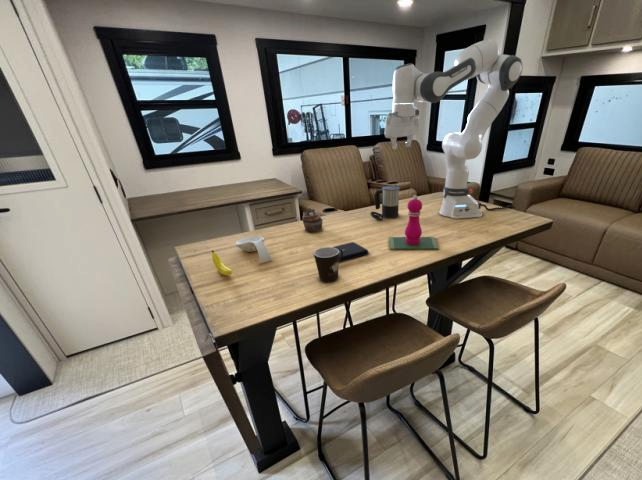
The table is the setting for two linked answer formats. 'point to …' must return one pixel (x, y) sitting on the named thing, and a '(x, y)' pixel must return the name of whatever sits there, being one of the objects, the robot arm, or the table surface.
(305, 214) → the cupcake
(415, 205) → the pepper mill
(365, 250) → the laptop
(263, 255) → the spoon rest
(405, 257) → the table surface
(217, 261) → the banana
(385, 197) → the milk frother
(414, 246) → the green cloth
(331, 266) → the coffee mug
